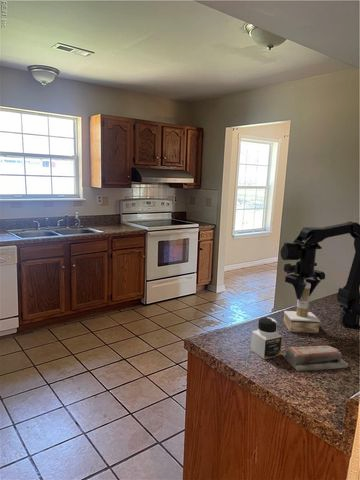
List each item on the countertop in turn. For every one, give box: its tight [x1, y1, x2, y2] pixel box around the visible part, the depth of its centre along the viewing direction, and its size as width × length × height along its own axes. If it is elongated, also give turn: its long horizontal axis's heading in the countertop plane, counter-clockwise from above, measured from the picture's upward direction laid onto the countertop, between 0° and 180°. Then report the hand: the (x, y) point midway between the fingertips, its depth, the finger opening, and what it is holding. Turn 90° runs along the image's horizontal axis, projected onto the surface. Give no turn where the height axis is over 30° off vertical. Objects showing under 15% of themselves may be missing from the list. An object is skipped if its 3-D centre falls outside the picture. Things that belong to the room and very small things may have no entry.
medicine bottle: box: [250, 316, 283, 360], centre depth 116 cm, size 7×7×12 cm
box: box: [283, 312, 320, 334], centre depth 139 cm, size 11×10×4 cm
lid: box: [283, 310, 321, 323], centre depth 139 cm, size 11×10×1 cm
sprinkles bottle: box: [296, 281, 311, 317], centre depth 138 cm, size 5×5×13 cm
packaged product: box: [281, 345, 349, 372], centre depth 113 cm, size 18×5×10 cm
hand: (303, 297), depth 137 cm, fingers open, 6 cm apart
